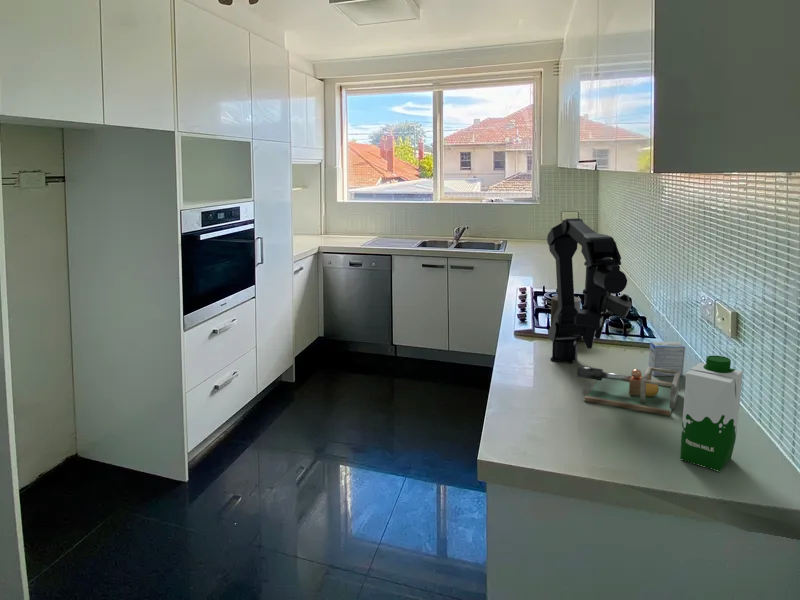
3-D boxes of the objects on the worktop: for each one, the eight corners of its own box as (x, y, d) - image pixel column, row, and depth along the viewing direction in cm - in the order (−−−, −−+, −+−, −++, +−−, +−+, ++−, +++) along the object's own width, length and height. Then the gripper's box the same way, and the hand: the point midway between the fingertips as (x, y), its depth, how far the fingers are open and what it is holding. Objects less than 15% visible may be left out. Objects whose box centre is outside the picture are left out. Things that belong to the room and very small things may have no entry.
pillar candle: (547, 339, 189) (549, 296, 185) (552, 331, 197) (554, 290, 194) (576, 342, 184) (579, 298, 181) (581, 334, 193) (583, 292, 190)
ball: (660, 396, 134) (644, 401, 136) (662, 390, 138) (646, 395, 140) (652, 381, 134) (637, 386, 137) (654, 376, 138) (639, 381, 140)
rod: (576, 385, 145) (576, 363, 143) (579, 381, 148) (580, 359, 146) (639, 396, 137) (640, 372, 136) (641, 391, 140) (642, 367, 139)
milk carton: (737, 458, 107) (748, 360, 103) (723, 476, 101) (734, 373, 97) (689, 444, 113) (698, 351, 109) (672, 460, 107) (681, 362, 103)
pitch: (584, 401, 136) (585, 377, 135) (601, 376, 153) (602, 354, 151) (672, 417, 126) (674, 391, 125) (679, 388, 143) (681, 364, 141)
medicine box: (676, 371, 155) (679, 341, 153) (683, 376, 151) (685, 346, 149) (647, 370, 156) (649, 341, 154) (653, 376, 152) (655, 346, 150)
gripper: (623, 295, 130) (618, 358, 133) (636, 281, 145) (632, 338, 149) (575, 291, 136) (572, 351, 139) (593, 278, 151) (590, 332, 155)
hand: (593, 343), depth 145 cm, fingers open, 9 cm apart
